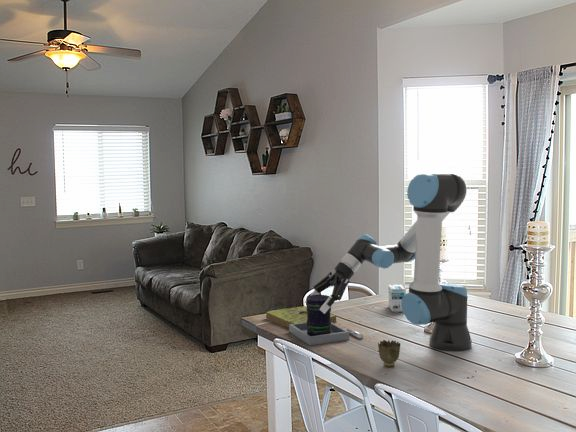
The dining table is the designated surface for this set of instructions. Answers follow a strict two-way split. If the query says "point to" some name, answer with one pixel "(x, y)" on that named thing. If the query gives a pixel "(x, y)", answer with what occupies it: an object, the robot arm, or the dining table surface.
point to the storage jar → (317, 316)
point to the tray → (335, 335)
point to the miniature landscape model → (291, 316)
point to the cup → (389, 352)
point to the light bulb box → (396, 297)
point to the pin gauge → (355, 333)
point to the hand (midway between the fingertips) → (314, 307)
